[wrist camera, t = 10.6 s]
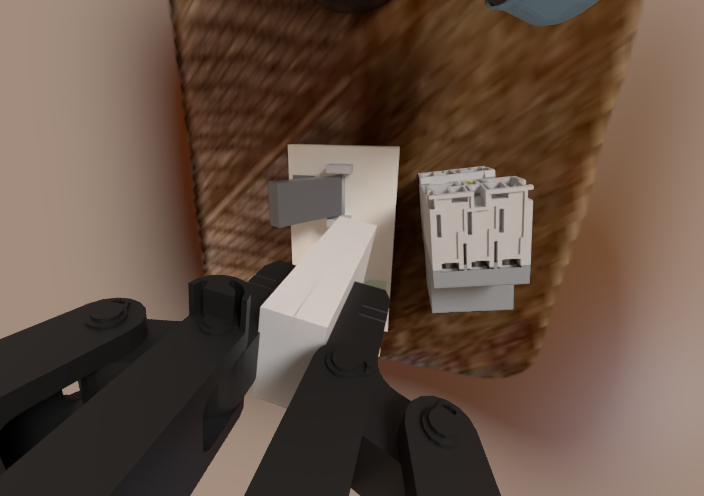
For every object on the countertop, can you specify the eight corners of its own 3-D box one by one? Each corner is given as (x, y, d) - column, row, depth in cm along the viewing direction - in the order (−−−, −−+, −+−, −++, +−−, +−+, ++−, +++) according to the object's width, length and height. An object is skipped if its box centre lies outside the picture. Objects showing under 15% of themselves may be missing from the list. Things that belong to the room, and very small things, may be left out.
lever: (339, 174, 35) (267, 180, 29) (348, 175, 34) (276, 181, 28) (338, 212, 37) (270, 226, 30) (347, 214, 36) (279, 229, 29)
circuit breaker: (425, 282, 43) (437, 351, 29) (418, 173, 39) (428, 192, 25) (484, 278, 42) (526, 348, 28) (483, 165, 38) (533, 182, 24)
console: (300, 143, 40) (279, 144, 33) (399, 146, 38) (399, 148, 31) (305, 304, 47) (288, 333, 40) (388, 311, 45) (386, 343, 38)
